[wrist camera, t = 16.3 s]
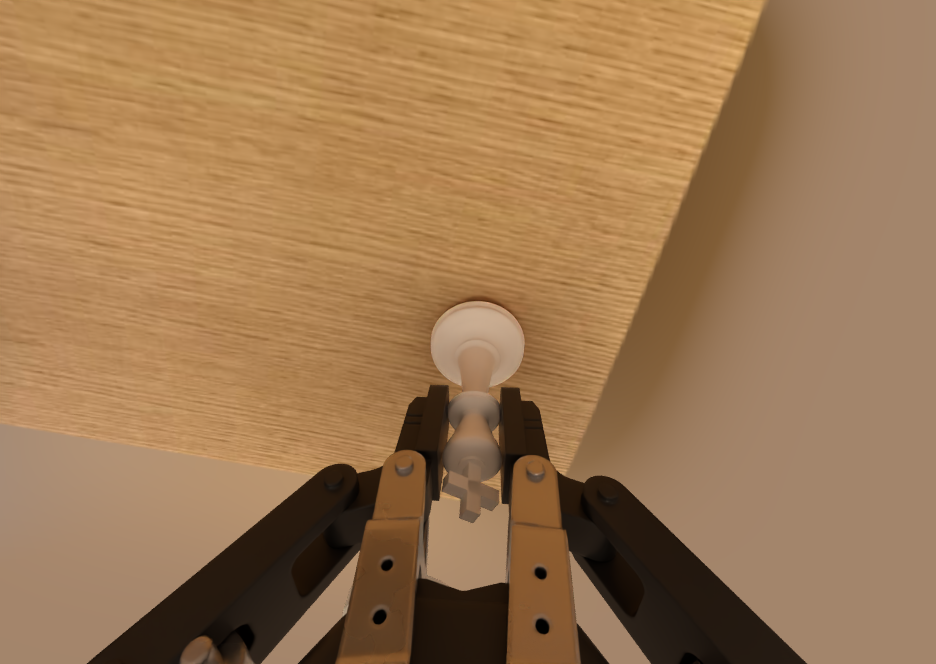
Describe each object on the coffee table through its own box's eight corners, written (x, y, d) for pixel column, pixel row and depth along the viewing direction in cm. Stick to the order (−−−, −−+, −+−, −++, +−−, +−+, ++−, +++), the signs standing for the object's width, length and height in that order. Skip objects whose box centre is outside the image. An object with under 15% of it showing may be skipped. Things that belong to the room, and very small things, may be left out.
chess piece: (495, 395, 20) (501, 585, 12) (416, 359, 20) (357, 535, 11) (542, 327, 18) (595, 495, 9) (456, 283, 18) (426, 422, 9)
